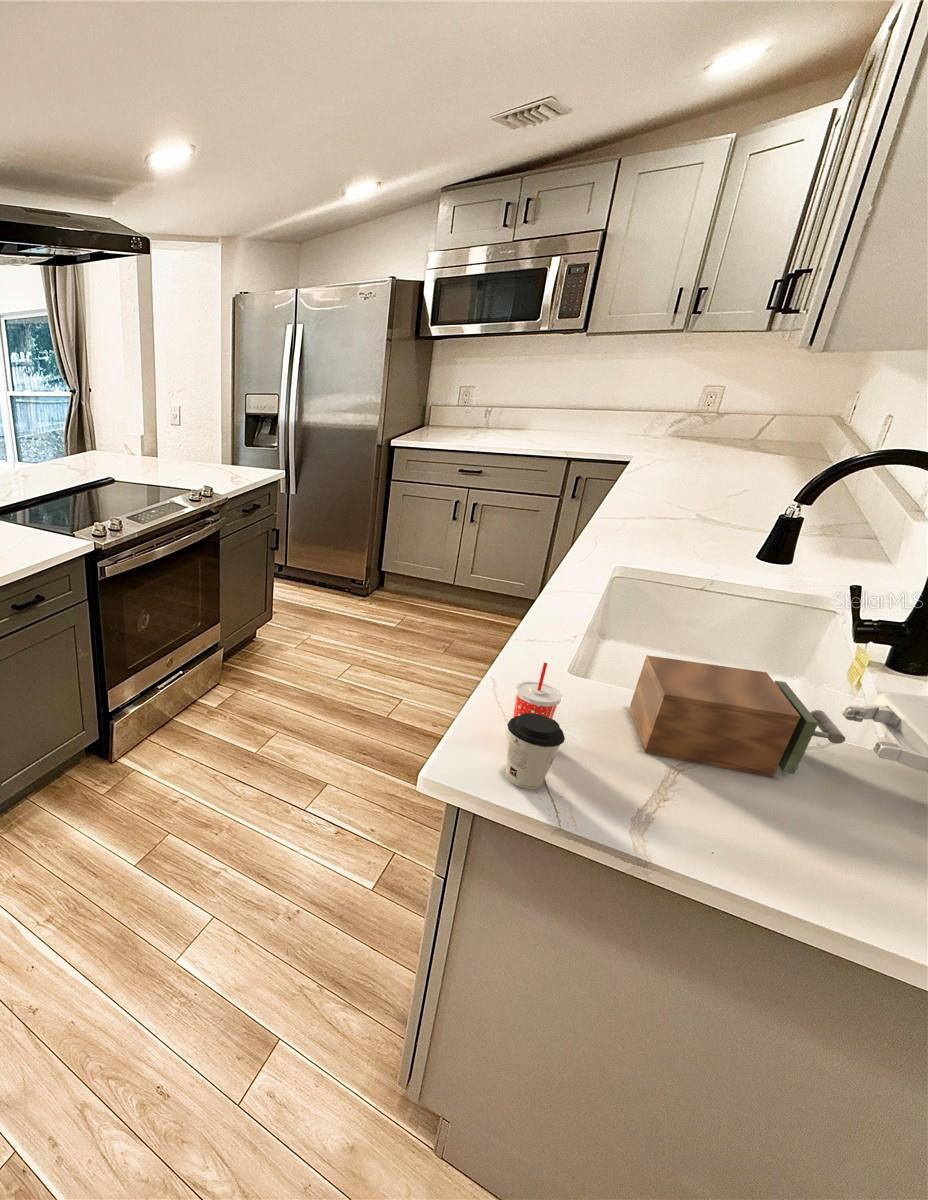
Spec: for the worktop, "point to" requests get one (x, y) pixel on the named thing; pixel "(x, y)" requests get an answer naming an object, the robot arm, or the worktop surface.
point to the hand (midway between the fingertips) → (860, 729)
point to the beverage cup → (536, 697)
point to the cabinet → (712, 715)
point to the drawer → (805, 730)
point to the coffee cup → (531, 749)
